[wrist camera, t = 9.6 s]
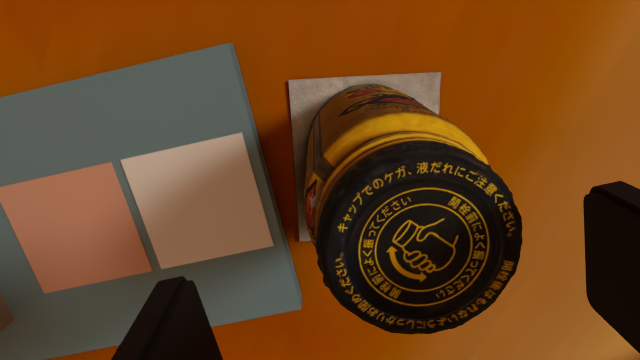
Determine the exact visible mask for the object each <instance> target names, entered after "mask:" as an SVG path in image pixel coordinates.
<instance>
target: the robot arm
mask: <svg viewBox="0 0 640 360" xmlns="http://www.w3.org/2000/svg"><path fill="white" fill-rule="evenodd" d="M584 231H585V262H586V292H587V297H588V300H589V303H590V305H591V306H592V308H593V309H594V310H595V311H596V312H597V313H598V314H599V315H600V316H601V317H602V318H603V319H604V320H605V321H606V322H607V323H609V324H610V325H611V326H612V327H613V328H614V329H615V330H616V331H617V332H618V333H619V334H620V335H621V336H622V337H623V338H624V339H625V340H626V341H627V342H628V343H629V344H630V345H631V346H632V347H633V348H634V349H636V350H637V351H638V352H639V353H640V189H638V188H635V187H633V186H631V185H629V184H627V183H625V182H622V181H618V182H613V183H608V184H604V185H599V186H595V187H593V188H592V189H591V190H590V193H589V194H587V195H586V196H585V197H584ZM111 360H223V359H222V356H221V353H220V351H219V348H218V345H217V342H216V340H215V337H214V334H213V331H212V329H211V326H210V323H209V320H208V318H207V315H206V312H205V309H204V307H203V304H202V301H201V298H200V296H199V293H198V290H197V287H196V285H195V283H194V282H193V281H192V280H189V281H187V280H186V278H185V277H183V276H179V277H175V278H170V279H165V280H161V281H158V282H157V283H156V285H155V287H154V288H153V290H152V292H151V294H150V295H149V297H148V299H147V300H146V302H145V304H144V305H143V307H142V309H141V310H140V312H139V314H138V315H137V317H136V319H135V320H134V322H133V324H132V326H131V327H130V329H129V331H128V332H127V334H126V336H125V337H124V339H123V341H122V342H121V344H120V346H119V347H118V349H117V351H116V352H115V354H114V356H113V357H112V359H111Z"/></svg>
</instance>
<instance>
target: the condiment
mask: <svg viewBox="0 0 640 360" xmlns="http://www.w3.org/2000/svg"><path fill="white" fill-rule="evenodd" d="M440 78H441V72H435V73H413V74H393V75H373V76H354V77H335V78H322V79H299V80H289V94H290V108H291V122H292V136H293V151H294V168H295V182H296V197H297V210H298V226H299V240H300V242H303V241H312V243H313V244H314V246H315V248H316V253H317V255H318V261H317V264H318V266H319V268H320V270H321V271H322V273H323V282H324V284H325V286H327V287H328V288H329V289H330V291H331V293H332V294H333V295H334V297H335V298H336V299H337V300H338V302H339V303H340V304H341V305H342V306H343V307H345V308H346V309H347V310H349V311H350V312H352V313H354V314H355V315H357V316H358V317H359V318H361V319H362V320H364V321H366V322H368V323H370V324H372V325H375V326H377V327H379V328H381V329H383V330H385V331H388V332H391V333H402V334H417V333H421V334H431V333H435V332H438V331H443V330H447V329H452V328H456V327H458V326H460V325H463V324H464V323H465V322H467V321H469V320H470V319H472V318H473V317H475V316H477V315H478V314H480V313H481V312H483V311H484V310H486V309H487V308H488V307H489V306H490V305H491V304H493V303H494V302H495V300H496V299H497V297H498V296H499V295H500V293H501V292H502V291H503V289H504V288H505V287H506V285H507V283H508V282H509V280H510V278H511V277H512V276H513V275H514V274H515V272H516V269H517V265H518V262H519V258H520V250H521V245H522V220H521V216H520V214H519V212H518V209H517V207H516V206H515V204H514V201H513V197H512V196H513V195H512V193H511V192H510V191H509V189H508V186H507V185H506V184H505V183H504V182H503V179H502V178H501V177H499V175H498V174H496V173H494V172H493V171H492V169H491V167H490V165H488V162H487V159H486V157H485V156H484V154H483V153H482V151H481V150H480V149H479V147H478V146H477V145H476V144H475V143H474V141H472V140H471V139H470V138H469V136H468V135H467V134H466V133H464V131H463V130H461V129H460V128H458V127H457V126H456V125H455V124H454V123H453V122H451V121H449V120H447V119H445V118H443V117H441V116H440V115H439V104H440Z"/></svg>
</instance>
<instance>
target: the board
mask: <svg viewBox="0 0 640 360" xmlns="http://www.w3.org/2000/svg"><path fill="white" fill-rule="evenodd" d="M179 276H183V277H185V278H186V280H187V281H189V280H192V281H193V282H194V283H195V285H196V287H197V290H198V293H199V296H200V298H201V301H202V304H203V307H204V309H205V312H206V315H207V318H208V320H209V323H210V326H211V327H213V326H218V325H223V324H228V323H233V322H238V321H243V320H248V319H253V318H258V317H263V316H269V315H274V314H279V313H284V312H289V311H294V310H299V309H301V308H302V294H301V290H300V287H299V283H298V279H297V276H296V272H295V268H294V265H293V261H292V257H291V254H290V250H289V246H288V243H287V239H286V235H285V232H284V228H283V224H282V221H281V217H280V213H279V210H278V206H277V202H276V199H275V195H274V191H273V188H272V184H271V180H270V177H269V173H268V169H267V166H266V162H265V158H264V155H263V151H262V147H261V144H260V140H259V136H258V133H257V129H256V125H255V122H254V118H253V114H252V111H251V107H250V103H249V100H248V96H247V92H246V89H245V85H244V81H243V78H242V74H241V70H240V67H239V63H238V59H237V56H236V52H235V48H234V45H233V43H227V44H222V45H218V46H214V47H210V48H206V49H201V50H197V51H193V52H189V53H185V54H181V55H176V56H172V57H168V58H164V59H160V60H156V61H151V62H147V63H143V64H139V65H135V66H130V67H126V68H122V69H118V70H114V71H110V72H105V73H101V74H97V75H93V76H89V77H84V78H80V79H76V80H72V81H68V82H64V83H59V84H55V85H51V86H47V87H43V88H38V89H34V90H30V91H26V92H22V93H18V94H13V95H9V96H5V97H1V98H0V360H45V359H51V358H56V357H61V356H66V355H71V354H76V353H81V352H86V351H91V350H96V349H101V348H106V347H111V346H116V345H120V344H121V342H122V341H123V339H124V337H125V336H126V334H127V332H128V331H129V329H130V327H131V326H132V324H133V322H134V320H135V319H136V317H137V315H138V314H139V312H140V310H141V309H142V307H143V305H144V304H145V302H146V300H147V299H148V297H149V295H150V294H151V292H152V290H153V288H154V287H155V285H156V283H157V282H158V281H161V280H165V279H170V278H175V277H179Z"/></svg>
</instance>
